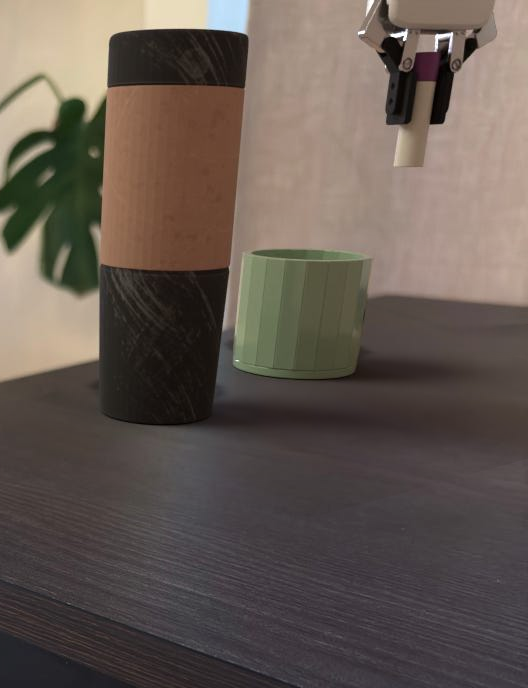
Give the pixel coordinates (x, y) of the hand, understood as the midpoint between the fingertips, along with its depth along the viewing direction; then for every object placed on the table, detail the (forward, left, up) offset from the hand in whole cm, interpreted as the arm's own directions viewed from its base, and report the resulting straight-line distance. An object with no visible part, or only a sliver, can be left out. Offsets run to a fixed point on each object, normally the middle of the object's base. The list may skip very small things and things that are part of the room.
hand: (414, 122), depth 86 cm
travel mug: (+35, +31, -17) cm, 50 cm away
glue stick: (0, 0, -4) cm, 4 cm away
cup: (+20, +20, -17) cm, 33 cm away
